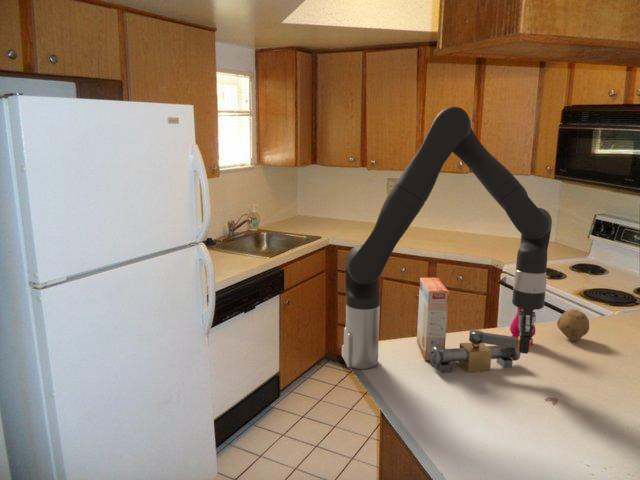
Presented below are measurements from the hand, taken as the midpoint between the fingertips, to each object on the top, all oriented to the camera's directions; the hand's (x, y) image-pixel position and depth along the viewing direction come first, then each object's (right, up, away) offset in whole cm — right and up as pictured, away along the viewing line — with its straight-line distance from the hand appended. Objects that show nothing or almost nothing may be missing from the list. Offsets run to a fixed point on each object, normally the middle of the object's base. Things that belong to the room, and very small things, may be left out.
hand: (523, 352), depth 131 cm
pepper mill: (+10, -3, +26) cm, 28 cm away
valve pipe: (-10, -6, +9) cm, 15 cm away
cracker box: (-20, -4, +20) cm, 28 cm away
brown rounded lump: (+26, -3, +28) cm, 39 cm away
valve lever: (-4, +1, +6) cm, 7 cm away
